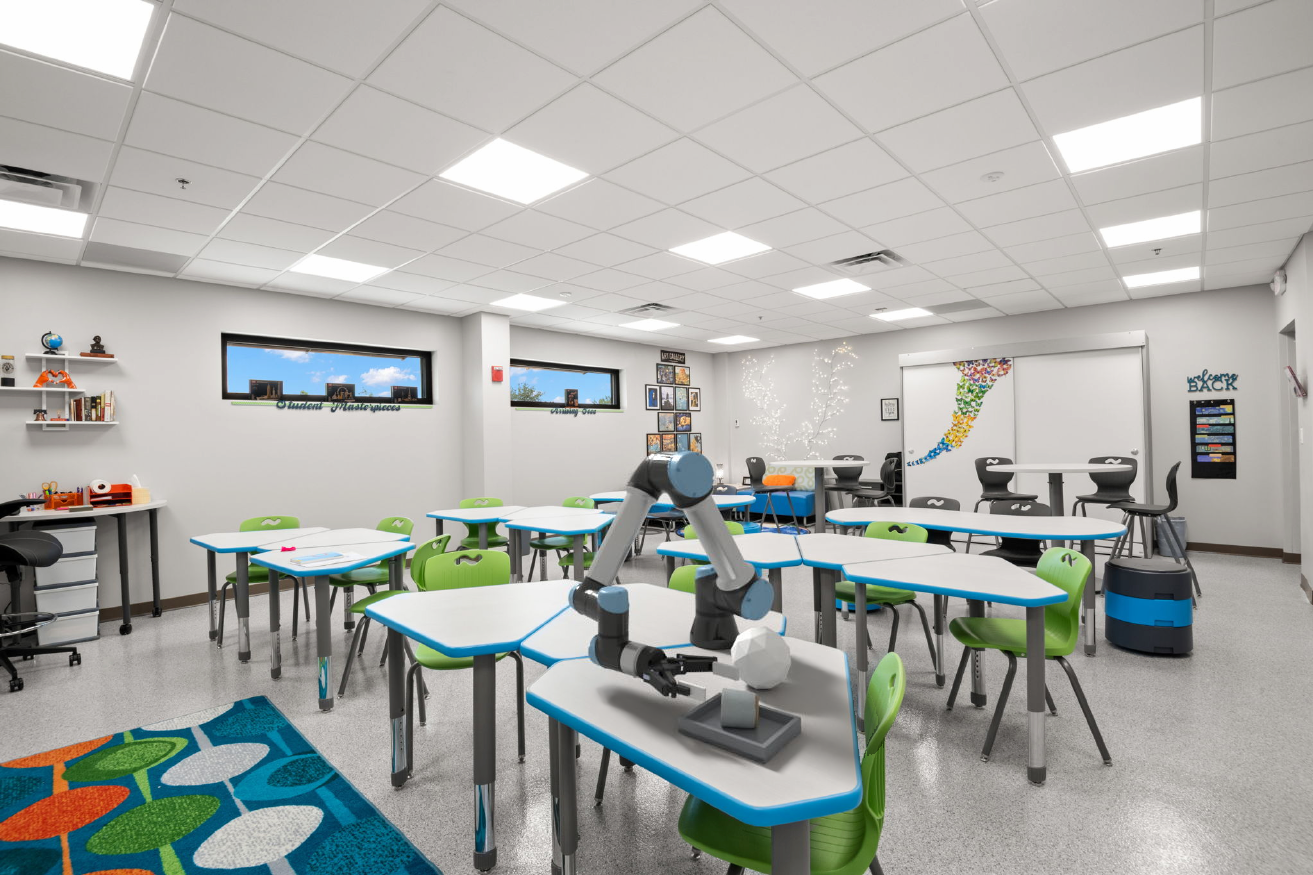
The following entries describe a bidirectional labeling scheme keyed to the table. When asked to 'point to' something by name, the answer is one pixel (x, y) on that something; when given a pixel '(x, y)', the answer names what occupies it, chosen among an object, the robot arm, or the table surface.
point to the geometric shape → (761, 657)
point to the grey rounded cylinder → (739, 708)
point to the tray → (741, 730)
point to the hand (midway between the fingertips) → (722, 684)
